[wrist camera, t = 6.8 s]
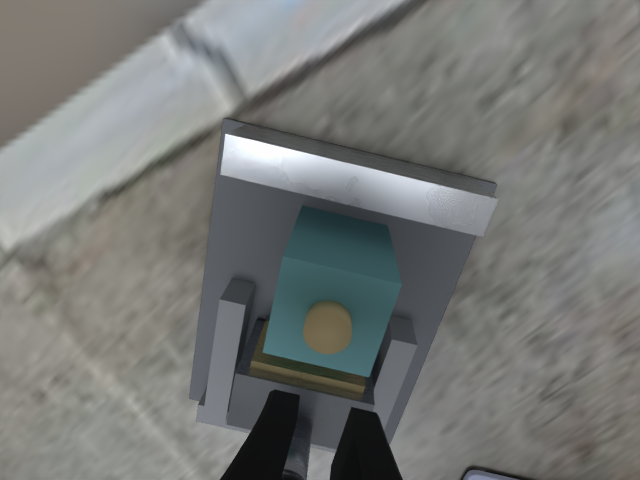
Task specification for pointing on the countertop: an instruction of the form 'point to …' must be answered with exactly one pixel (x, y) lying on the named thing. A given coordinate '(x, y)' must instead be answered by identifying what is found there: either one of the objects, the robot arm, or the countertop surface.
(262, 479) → the robot arm
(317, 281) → the block
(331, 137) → the countertop surface
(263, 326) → the block
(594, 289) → the countertop surface
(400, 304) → the base
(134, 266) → the countertop surface
